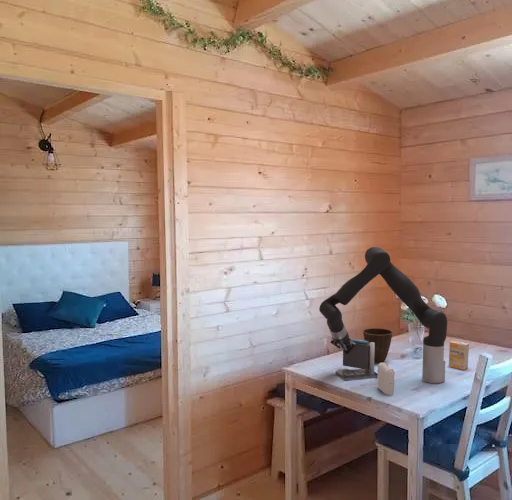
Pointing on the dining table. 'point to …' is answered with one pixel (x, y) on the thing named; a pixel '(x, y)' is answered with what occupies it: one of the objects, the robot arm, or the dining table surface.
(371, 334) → the plant pot
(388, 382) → the photo printer
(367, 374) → the panel
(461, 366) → the supplement box
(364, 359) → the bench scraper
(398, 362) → the dining table surface
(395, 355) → the dining table surface
